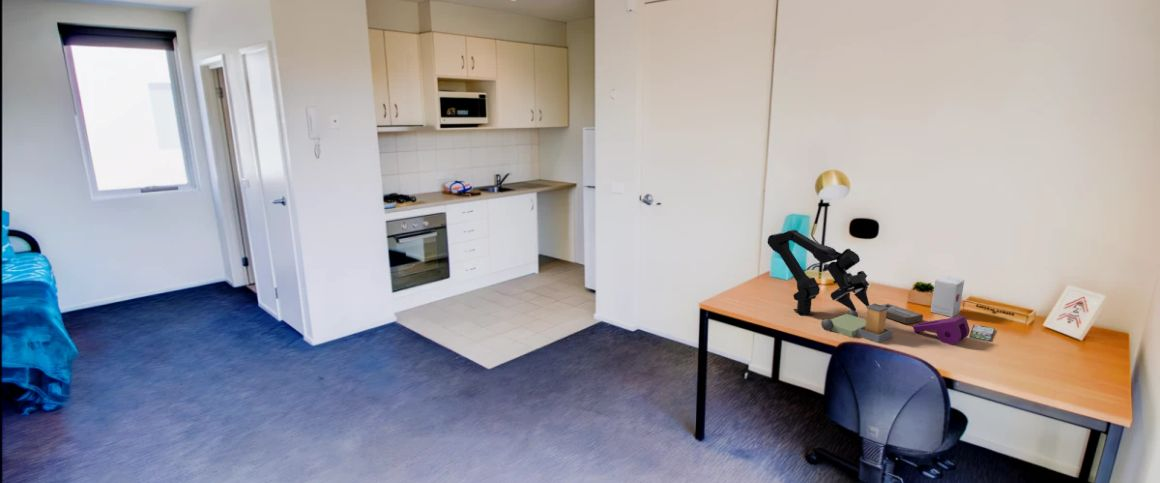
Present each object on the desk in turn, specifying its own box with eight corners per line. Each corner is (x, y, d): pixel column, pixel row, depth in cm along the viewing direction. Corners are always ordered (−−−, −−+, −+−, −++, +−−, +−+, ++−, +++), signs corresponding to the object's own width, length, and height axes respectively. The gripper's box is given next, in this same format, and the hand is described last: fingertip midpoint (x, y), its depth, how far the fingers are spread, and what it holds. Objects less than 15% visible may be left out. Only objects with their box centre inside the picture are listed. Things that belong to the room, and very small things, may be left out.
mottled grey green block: (968, 336, 241) (973, 324, 252) (968, 339, 241) (973, 326, 252) (991, 341, 236) (995, 328, 248) (990, 344, 237) (994, 330, 248)
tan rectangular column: (862, 335, 243) (866, 306, 240) (871, 332, 247) (874, 303, 243) (876, 340, 239) (880, 310, 236) (884, 337, 242) (888, 307, 239)
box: (905, 325, 253) (906, 318, 252) (870, 312, 268) (871, 305, 268) (923, 321, 258) (924, 314, 257) (887, 309, 273) (888, 302, 272)
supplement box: (952, 317, 261) (957, 284, 258) (929, 312, 268) (934, 279, 264) (960, 312, 267) (965, 279, 263) (937, 307, 274) (942, 275, 270)
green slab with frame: (820, 328, 251) (821, 318, 250) (848, 318, 262) (849, 308, 261) (871, 346, 234) (872, 335, 233) (898, 334, 244) (899, 324, 243)
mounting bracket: (915, 348, 246) (961, 343, 231) (908, 327, 247) (954, 321, 232) (926, 342, 251) (972, 337, 237) (919, 322, 252) (965, 316, 238)
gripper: (840, 269, 240) (863, 303, 234) (867, 261, 250) (890, 294, 244) (820, 283, 248) (842, 316, 242) (847, 274, 258) (869, 307, 253)
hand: (861, 308), depth 245 cm, fingers open, 9 cm apart
